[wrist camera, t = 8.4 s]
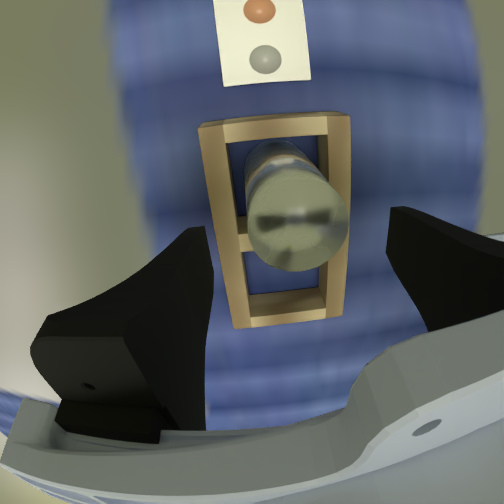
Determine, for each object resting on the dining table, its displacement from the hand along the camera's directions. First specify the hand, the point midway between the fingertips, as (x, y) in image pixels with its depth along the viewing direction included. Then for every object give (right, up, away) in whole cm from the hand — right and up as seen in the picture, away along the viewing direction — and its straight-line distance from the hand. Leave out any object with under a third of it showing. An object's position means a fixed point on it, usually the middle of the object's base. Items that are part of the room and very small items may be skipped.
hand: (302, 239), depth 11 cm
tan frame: (0, +2, +9) cm, 9 cm away
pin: (0, +5, +7) cm, 9 cm away
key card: (-1, +12, +3) cm, 12 cm away
